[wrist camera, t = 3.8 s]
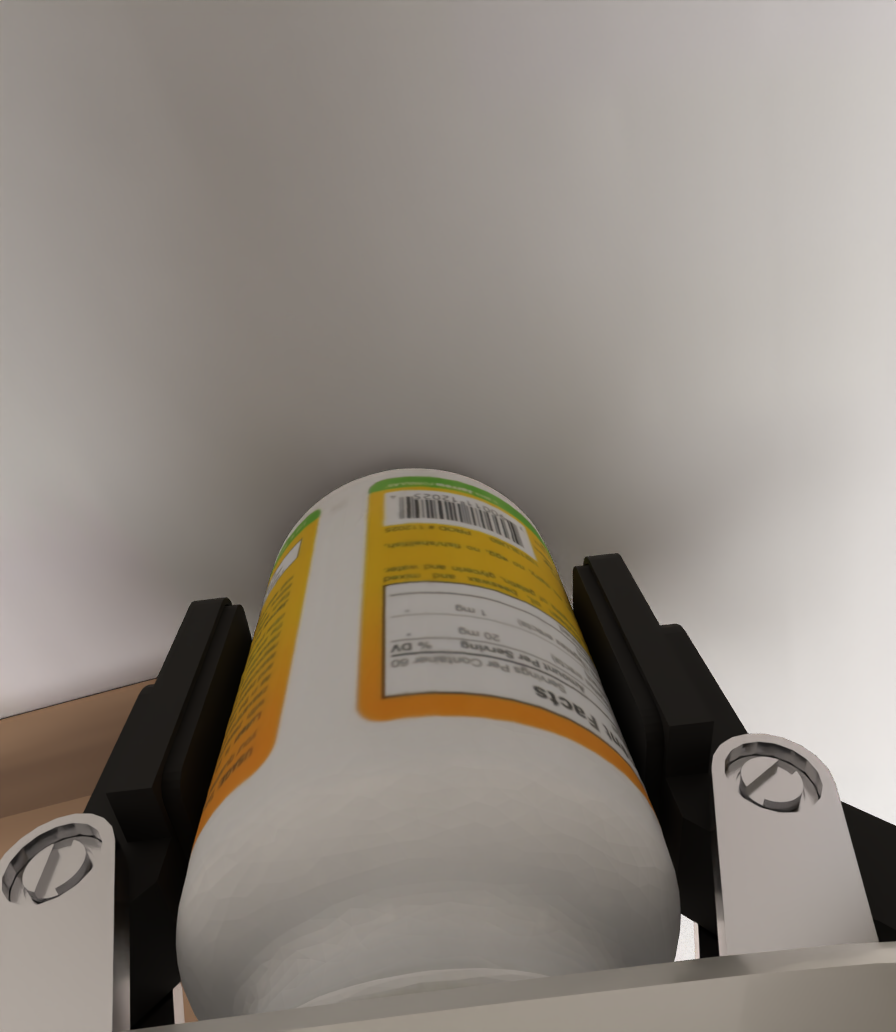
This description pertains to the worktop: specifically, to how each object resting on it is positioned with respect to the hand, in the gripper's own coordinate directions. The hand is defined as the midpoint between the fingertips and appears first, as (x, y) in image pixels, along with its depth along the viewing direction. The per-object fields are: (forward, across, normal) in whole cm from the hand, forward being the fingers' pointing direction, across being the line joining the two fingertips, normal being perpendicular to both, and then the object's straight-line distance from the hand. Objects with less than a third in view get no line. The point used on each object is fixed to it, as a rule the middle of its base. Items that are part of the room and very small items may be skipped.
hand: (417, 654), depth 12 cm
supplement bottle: (+2, 0, 0) cm, 2 cm away
